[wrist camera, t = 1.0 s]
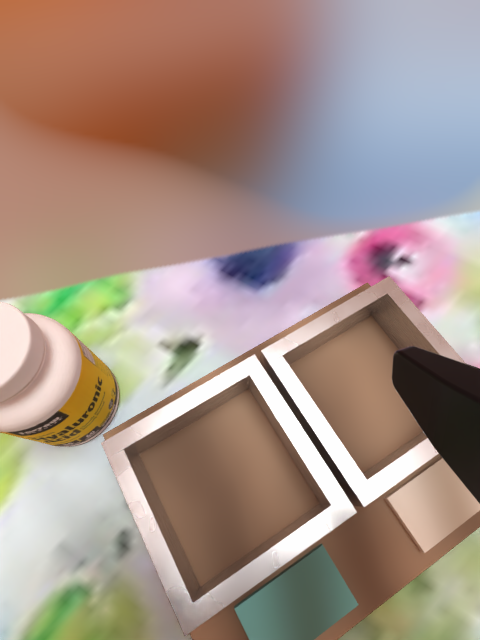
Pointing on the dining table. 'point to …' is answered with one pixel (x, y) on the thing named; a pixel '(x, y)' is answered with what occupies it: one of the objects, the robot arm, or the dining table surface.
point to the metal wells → (297, 437)
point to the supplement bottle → (51, 382)
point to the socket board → (307, 495)
